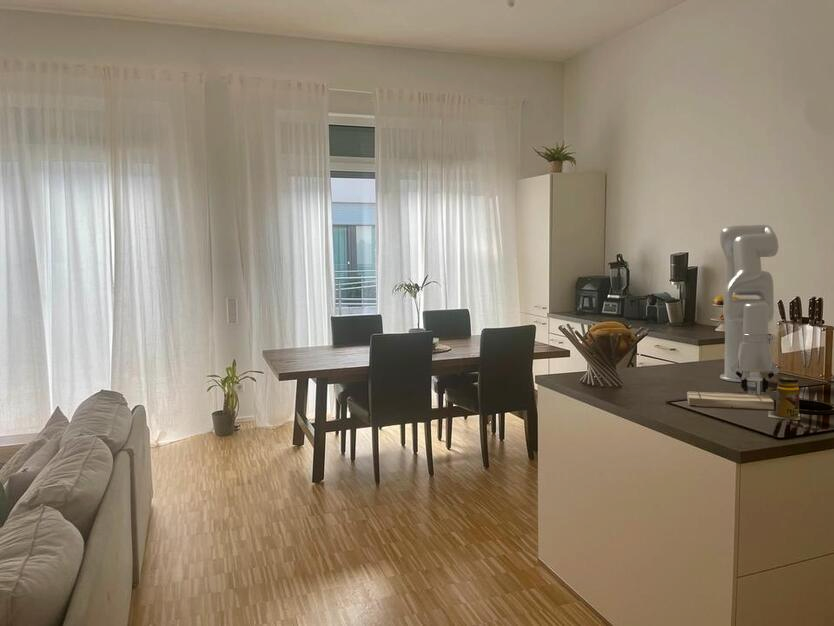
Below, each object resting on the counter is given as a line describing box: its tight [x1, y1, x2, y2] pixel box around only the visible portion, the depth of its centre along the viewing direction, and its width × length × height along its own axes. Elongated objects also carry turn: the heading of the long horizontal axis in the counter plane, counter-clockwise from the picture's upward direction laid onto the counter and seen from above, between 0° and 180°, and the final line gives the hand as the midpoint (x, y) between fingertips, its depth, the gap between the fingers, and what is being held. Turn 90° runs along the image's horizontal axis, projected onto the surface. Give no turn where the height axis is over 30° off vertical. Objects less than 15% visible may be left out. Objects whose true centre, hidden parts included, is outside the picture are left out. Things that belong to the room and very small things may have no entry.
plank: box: [686, 391, 775, 411], centre depth 211 cm, size 10×25×3 cm, turn 70°
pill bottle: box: [745, 372, 764, 395], centre depth 216 cm, size 5×5×9 cm
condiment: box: [767, 376, 801, 421], centre depth 194 cm, size 7×8×12 cm
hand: (754, 390), depth 217 cm, fingers closed on pill bottle, 5 cm apart
